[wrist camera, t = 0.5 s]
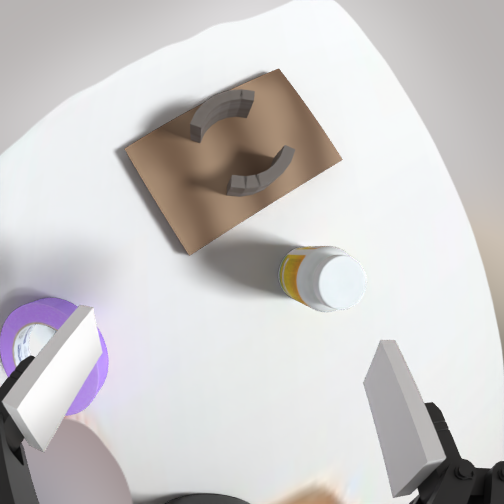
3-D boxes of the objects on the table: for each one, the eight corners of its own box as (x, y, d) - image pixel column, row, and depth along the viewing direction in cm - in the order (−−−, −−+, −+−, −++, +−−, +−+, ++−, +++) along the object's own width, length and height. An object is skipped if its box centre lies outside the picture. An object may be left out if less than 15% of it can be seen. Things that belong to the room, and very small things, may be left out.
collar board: (189, 255, 30) (188, 256, 25) (127, 153, 29) (114, 134, 24) (336, 163, 33) (360, 148, 27) (275, 75, 32) (288, 48, 26)
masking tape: (81, 419, 28) (71, 436, 24) (3, 356, 27) (-13, 365, 23) (128, 343, 29) (120, 355, 26) (41, 274, 28) (24, 277, 24)
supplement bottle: (310, 236, 32) (354, 230, 23) (336, 280, 33) (386, 290, 23) (266, 266, 31) (295, 272, 22) (294, 311, 32) (332, 333, 22)
